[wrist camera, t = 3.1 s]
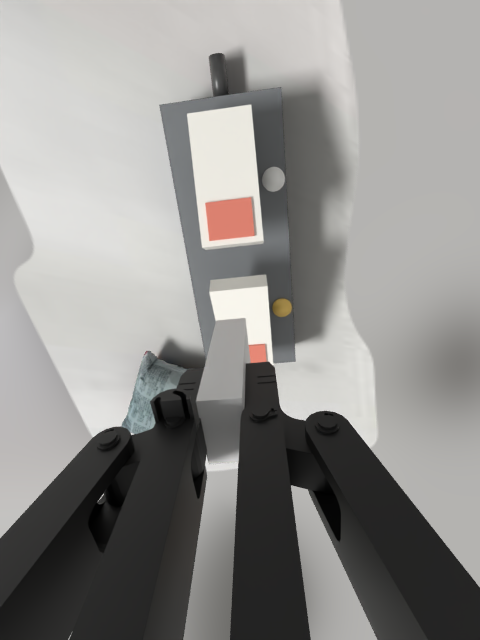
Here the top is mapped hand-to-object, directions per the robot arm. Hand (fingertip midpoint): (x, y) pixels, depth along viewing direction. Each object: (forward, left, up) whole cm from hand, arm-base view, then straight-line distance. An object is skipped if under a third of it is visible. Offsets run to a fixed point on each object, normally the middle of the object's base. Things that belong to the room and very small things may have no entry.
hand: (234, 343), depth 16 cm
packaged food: (+15, -10, -17) cm, 25 cm away
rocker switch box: (-3, 0, -17) cm, 17 cm away
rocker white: (-7, 0, -11) cm, 13 cm away
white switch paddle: (+4, 0, -11) cm, 11 cm away
